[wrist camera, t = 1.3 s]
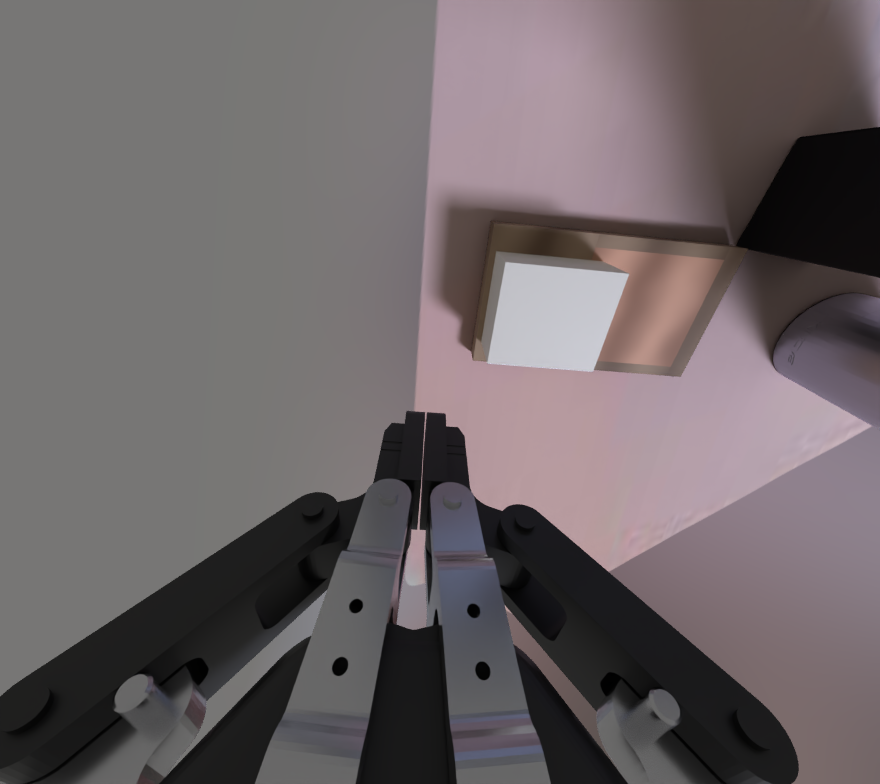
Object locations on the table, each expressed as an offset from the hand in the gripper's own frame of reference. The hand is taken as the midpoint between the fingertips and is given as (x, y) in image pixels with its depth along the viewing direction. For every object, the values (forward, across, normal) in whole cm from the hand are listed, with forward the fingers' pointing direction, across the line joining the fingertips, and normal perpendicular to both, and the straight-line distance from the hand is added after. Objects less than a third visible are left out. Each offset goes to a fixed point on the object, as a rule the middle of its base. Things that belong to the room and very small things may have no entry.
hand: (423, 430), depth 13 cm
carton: (+19, -10, 0) cm, 21 cm away
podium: (+21, -15, 0) cm, 26 cm away
